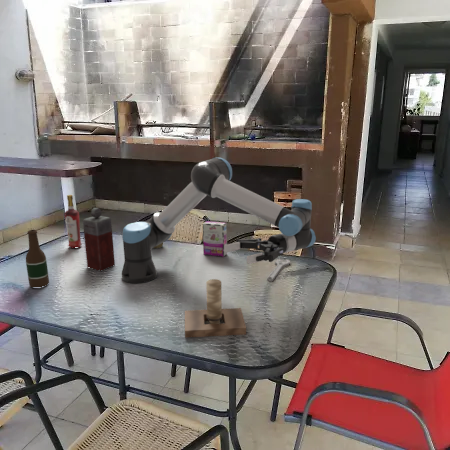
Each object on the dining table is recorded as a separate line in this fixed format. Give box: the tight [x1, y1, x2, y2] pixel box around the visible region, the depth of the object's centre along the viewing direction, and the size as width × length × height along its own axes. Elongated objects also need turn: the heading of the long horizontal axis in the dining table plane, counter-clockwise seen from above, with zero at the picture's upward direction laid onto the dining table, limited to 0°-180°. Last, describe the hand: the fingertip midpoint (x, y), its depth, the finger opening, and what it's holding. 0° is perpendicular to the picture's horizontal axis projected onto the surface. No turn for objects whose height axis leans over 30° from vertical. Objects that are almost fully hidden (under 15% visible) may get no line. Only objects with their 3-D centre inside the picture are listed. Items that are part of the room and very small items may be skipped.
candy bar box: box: [202, 221, 228, 258], centre depth 214 cm, size 11×5×16 cm, turn 69°
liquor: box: [63, 194, 83, 249], centre depth 225 cm, size 7×7×28 cm
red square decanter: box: [82, 207, 116, 272], centre depth 198 cm, size 9×11×28 cm
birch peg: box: [205, 278, 223, 324], centre depth 146 cm, size 5×5×16 cm
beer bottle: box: [25, 229, 50, 288], centre depth 178 cm, size 8×8×24 cm
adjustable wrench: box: [266, 258, 291, 282], centre depth 195 cm, size 25×6×2 cm, turn 153°
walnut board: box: [184, 307, 247, 338], centre depth 148 cm, size 20×14×2 cm
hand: (235, 254), depth 152 cm, fingers open, 13 cm apart
